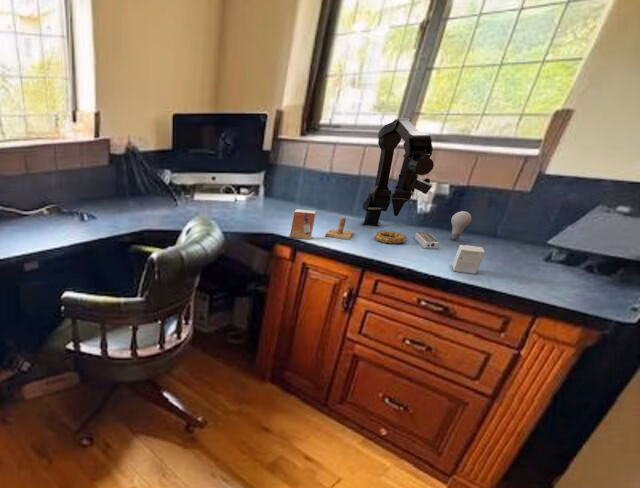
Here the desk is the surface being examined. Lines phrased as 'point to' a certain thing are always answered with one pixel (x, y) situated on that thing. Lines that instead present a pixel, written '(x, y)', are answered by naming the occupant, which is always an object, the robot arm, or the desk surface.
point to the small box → (302, 224)
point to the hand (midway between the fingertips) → (397, 213)
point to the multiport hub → (426, 240)
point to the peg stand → (340, 231)
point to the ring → (390, 237)
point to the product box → (468, 259)
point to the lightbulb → (459, 223)
